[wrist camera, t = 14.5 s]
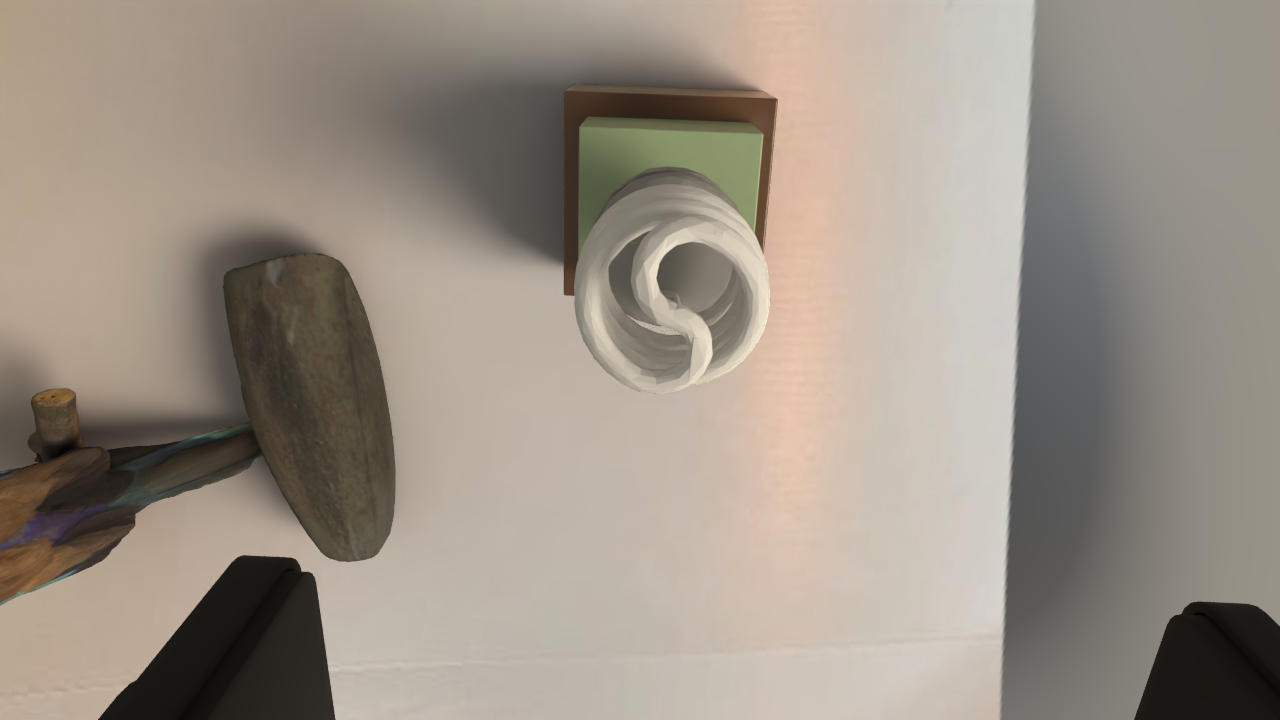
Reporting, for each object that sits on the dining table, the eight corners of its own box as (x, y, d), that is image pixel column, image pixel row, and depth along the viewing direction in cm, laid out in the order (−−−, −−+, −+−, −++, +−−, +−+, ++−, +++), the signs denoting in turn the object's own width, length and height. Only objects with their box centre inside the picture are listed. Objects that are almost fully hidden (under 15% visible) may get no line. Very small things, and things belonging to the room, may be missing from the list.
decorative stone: (229, 252, 42) (186, 274, 38) (351, 237, 42) (320, 258, 38) (319, 535, 48) (290, 579, 44) (426, 524, 48) (406, 567, 44)
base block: (764, 91, 39) (778, 98, 34) (748, 276, 42) (759, 303, 38) (573, 84, 39) (563, 90, 34) (572, 269, 42) (563, 295, 38)
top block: (752, 122, 35) (763, 133, 31) (739, 281, 37) (748, 309, 34) (587, 115, 35) (578, 126, 31) (585, 275, 37) (577, 302, 34)
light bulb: (745, 280, 33) (789, 406, 22) (607, 296, 34) (582, 429, 22) (732, 138, 31) (774, 198, 20) (586, 157, 32) (547, 226, 20)
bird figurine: (242, 335, 43) (-273, 575, 28) (311, 495, 46) (-111, 781, 32) (121, 330, 50) (-336, 517, 36) (189, 467, 54) (-199, 689, 39)
